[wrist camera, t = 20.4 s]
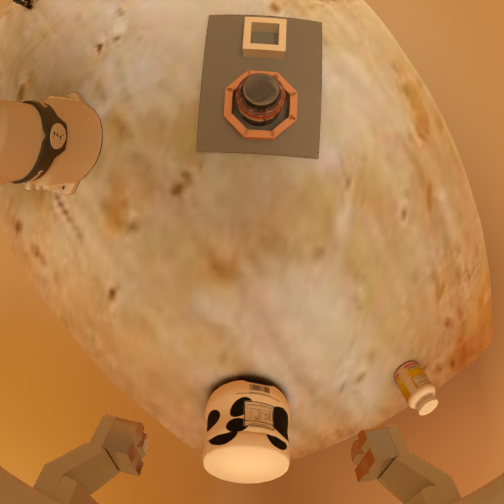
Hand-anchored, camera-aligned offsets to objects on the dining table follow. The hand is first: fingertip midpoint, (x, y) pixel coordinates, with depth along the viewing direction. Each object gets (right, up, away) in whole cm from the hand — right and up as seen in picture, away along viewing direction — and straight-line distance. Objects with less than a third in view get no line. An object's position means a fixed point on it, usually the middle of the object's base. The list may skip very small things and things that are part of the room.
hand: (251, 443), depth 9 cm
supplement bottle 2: (+35, -20, +45) cm, 61 cm away
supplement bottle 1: (+1, +28, +29) cm, 40 cm away
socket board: (+1, +33, +28) cm, 44 cm away
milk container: (-1, -25, +47) cm, 53 cm away
